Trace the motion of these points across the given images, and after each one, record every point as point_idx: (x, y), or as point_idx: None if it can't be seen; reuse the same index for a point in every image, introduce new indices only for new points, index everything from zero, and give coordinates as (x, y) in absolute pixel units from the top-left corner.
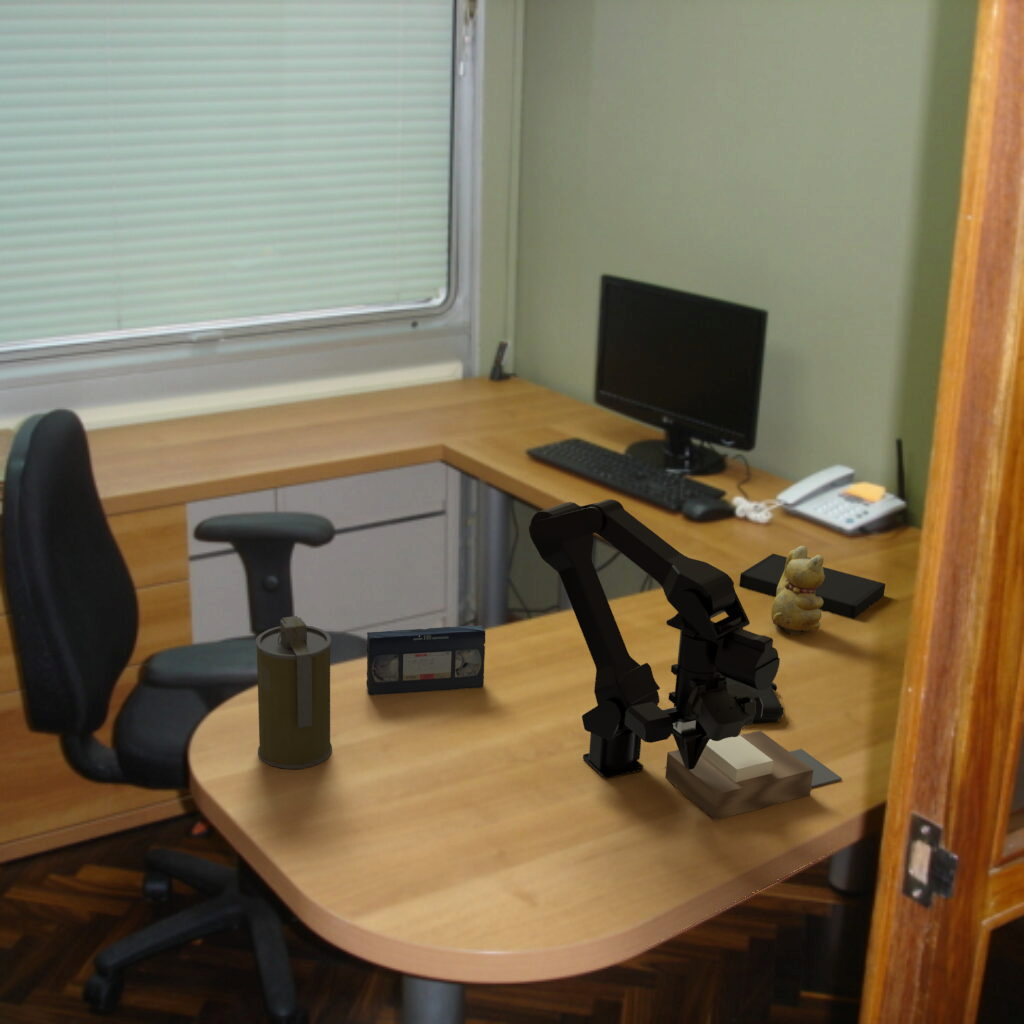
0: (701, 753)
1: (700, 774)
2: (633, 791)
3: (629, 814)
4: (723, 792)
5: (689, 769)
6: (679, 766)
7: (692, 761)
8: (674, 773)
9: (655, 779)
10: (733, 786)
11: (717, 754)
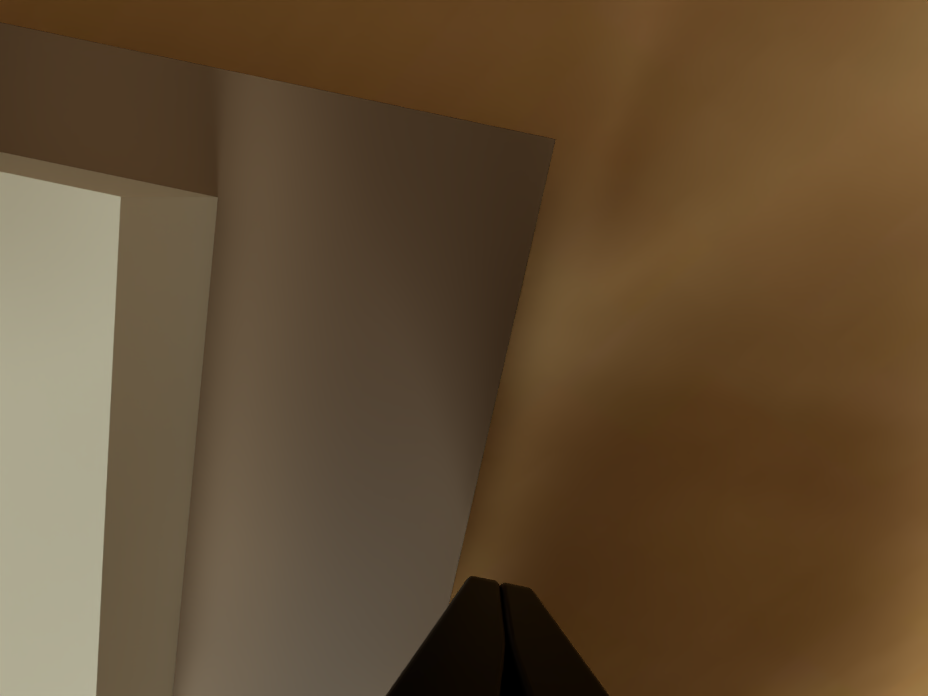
0: (401, 689)
1: (413, 501)
2: (683, 680)
3: (912, 534)
4: (476, 125)
5: (527, 588)
6: None
7: (525, 645)
8: None
9: None
10: (291, 153)
11: (104, 595)
